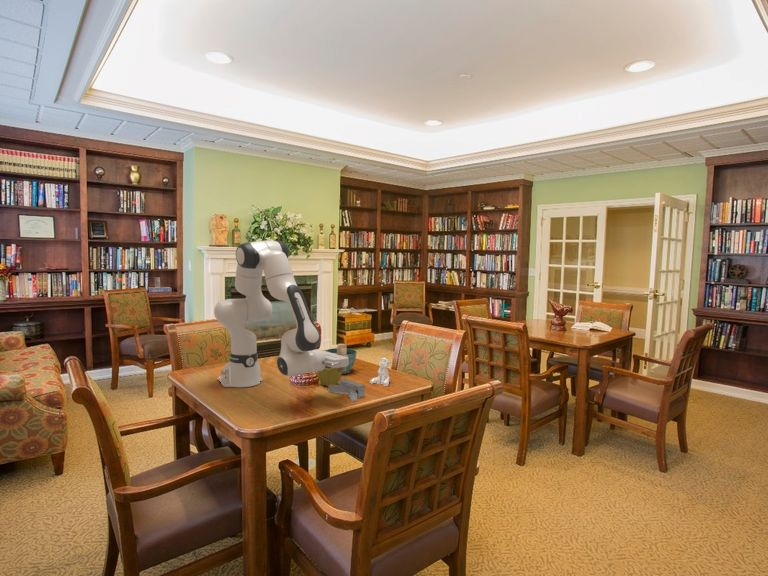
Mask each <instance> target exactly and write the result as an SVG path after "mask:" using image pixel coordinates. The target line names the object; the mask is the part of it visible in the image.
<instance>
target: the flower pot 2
mask: <svg viewBox="0 0 768 576" xmlns="http://www.w3.org/2000/svg"><path fill="white" fill-rule="evenodd" d="M316 373H317V378H318V380H319V382H320V384H321V385H323V386H326V387H328V388H329V385H330V384H334V385H339V380H341V378H342V375H343V374H342V372H339V371H337V368H331V367H328V366H325V368H324V369H323V370H322V371H318V372H316Z"/></svg>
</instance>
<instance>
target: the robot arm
mask: <svg viewBox="0 0 768 576" xmlns="http://www.w3.org/2000/svg"><path fill="white" fill-rule="evenodd" d="M289 253H290V251H289V248H288V246H287V244H286V243H285V241H282V240H276V239H275V240H257V241H252V242H249V241H248V242H243V243H241V244H238V246H237V248H236V250H235V260H236V263H237V265H236V270H235V271H236V272H235V279H234V288H235V289H236V291H237V292H238V293H240V295H244V296H245V298H228V299H222V300H220V301H218V302H217V303H216V304H215V306H214V309H213V310H214V311H213V314H214V317H215V320H217V321H218V322H219V323H220V324H221V325H223V326H224V327H225V328H226V330H227V332H228V333H229V337H230V346H231V347H230V349H231V352H229V359H228V360H229V361H228V362H227V363H226V364H225V365H224V366H223V367H222V369H221V370H220V374H221V375H220V376H218V377H216V380H217V379H218V380H219V381H220V382H221V383H220V382H219V381H218V380H217V381H218V382H219V383H220V384H221V385H222V387H224V388H249V387H253V386H257V385H259V384H261V382H262V381H263V380H264V377H262V376H261V375H262V373H261V364H260V363H259V361H258V360H259V359H258V357H259V356H258V354H259V353H258V352H257V349H258V347H257V339H258V338H257V335H256V333H254V331H251V330H249V329H246V328H245V326H244V325H245V324H246V323H260V322H264V321H266V320H269V319H270V318H271V317H272V314H273V311H274V310H273V304H272V302H271V301H270V300H269V299H267V298H266V297H265V296H264V295H263V292H262V281H263V280H262V279H263V274H264V279H265V283H266V287H267V289H268V293H269V294H270V295H271V297H273V298H274V299H276V300H278V301H283V302H285V303H287V304H288V305H289V307H290V309H291V312H292V316H293V318H294V320H295V324H296V327H295V328H293V329H289V330H287V331H285V332H284V333H283V334H282V336H281V337H280V352H279V356H278V357H277V359H276V365H277V368H278V371H279V372H280V373H281V374H282V375H284V376H286V377H293V376H294V377H295V376H301V375H304V374H306V373H308V374H309V373H310V374H311V373H317V372H318V371H322V370H323V369H324V368H325V366H328V367H331V368H340V367H347V366H348V364H349V358H348V357H349V356H348V355H343V356H341V355H338V354H337V353H330V352H327V351H325V350H323V349H319V348H318V347H319V345H320V343H321V340H322V339H321V332H320V330H319V328H318V326H317V325H316V324H315V321H314V319H313V318H312V315H311V312H310V309H309V306H308V304H307V301H306V298H305V296H304V293H303V291H302V290H301V288H300V287H299V286H298V284H297V282H296V279H295V276H294V272H293V270H292V266H291V263H290V261H289V259H288V258H289V257H290V254H289ZM260 381H261V382H260Z"/></svg>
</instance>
